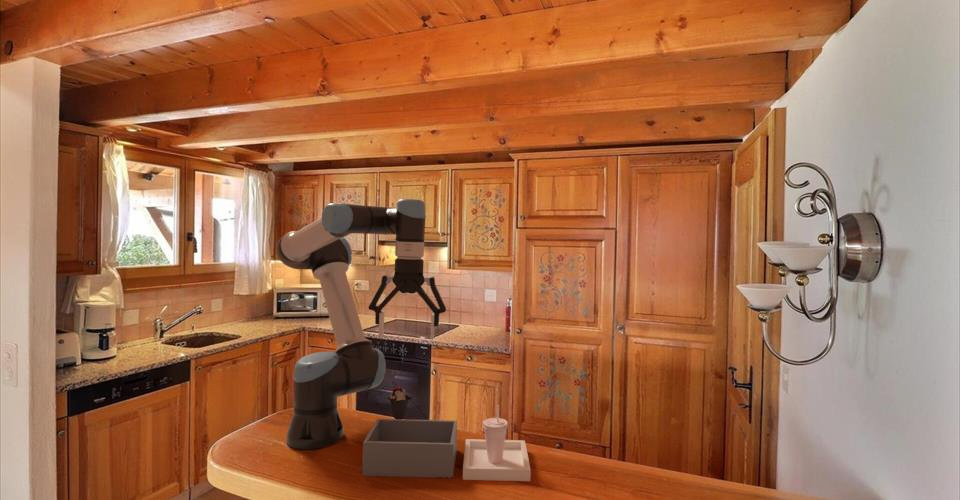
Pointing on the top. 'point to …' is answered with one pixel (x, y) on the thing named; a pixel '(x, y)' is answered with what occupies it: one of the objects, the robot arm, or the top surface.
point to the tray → (507, 470)
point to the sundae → (399, 402)
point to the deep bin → (410, 448)
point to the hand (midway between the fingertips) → (406, 337)
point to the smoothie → (495, 437)
